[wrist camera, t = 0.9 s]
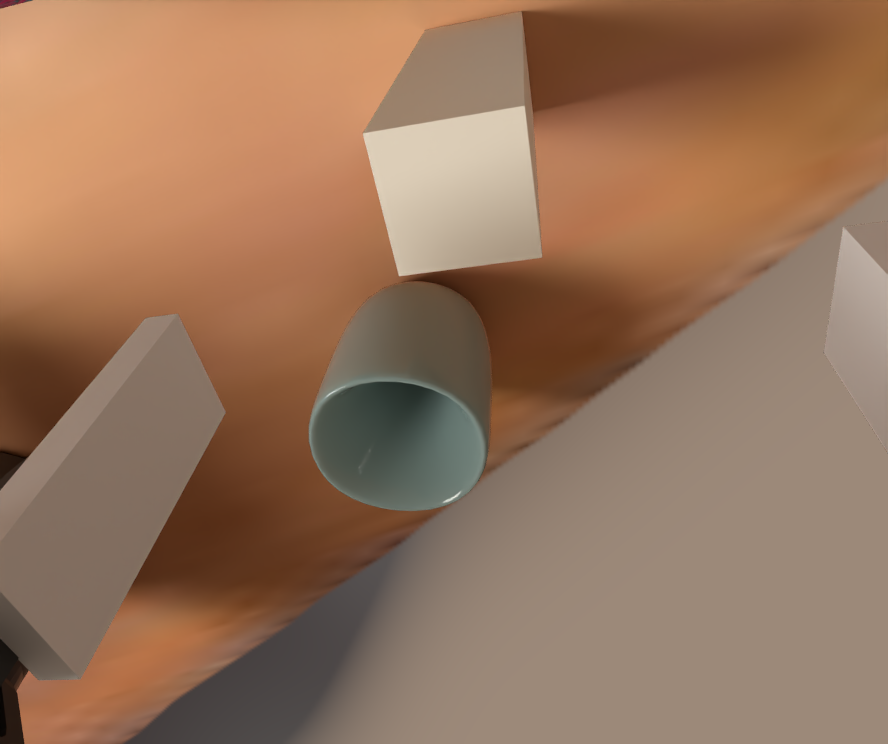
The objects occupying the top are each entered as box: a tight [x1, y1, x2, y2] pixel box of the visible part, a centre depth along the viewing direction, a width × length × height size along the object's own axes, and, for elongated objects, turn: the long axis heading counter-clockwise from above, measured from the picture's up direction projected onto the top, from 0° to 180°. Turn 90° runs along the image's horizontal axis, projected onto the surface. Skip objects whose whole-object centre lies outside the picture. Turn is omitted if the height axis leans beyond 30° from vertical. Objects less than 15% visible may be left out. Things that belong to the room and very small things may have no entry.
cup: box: [309, 281, 492, 511], centre depth 32 cm, size 8×8×10 cm
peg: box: [363, 11, 542, 276], centre depth 23 cm, size 4×4×14 cm
